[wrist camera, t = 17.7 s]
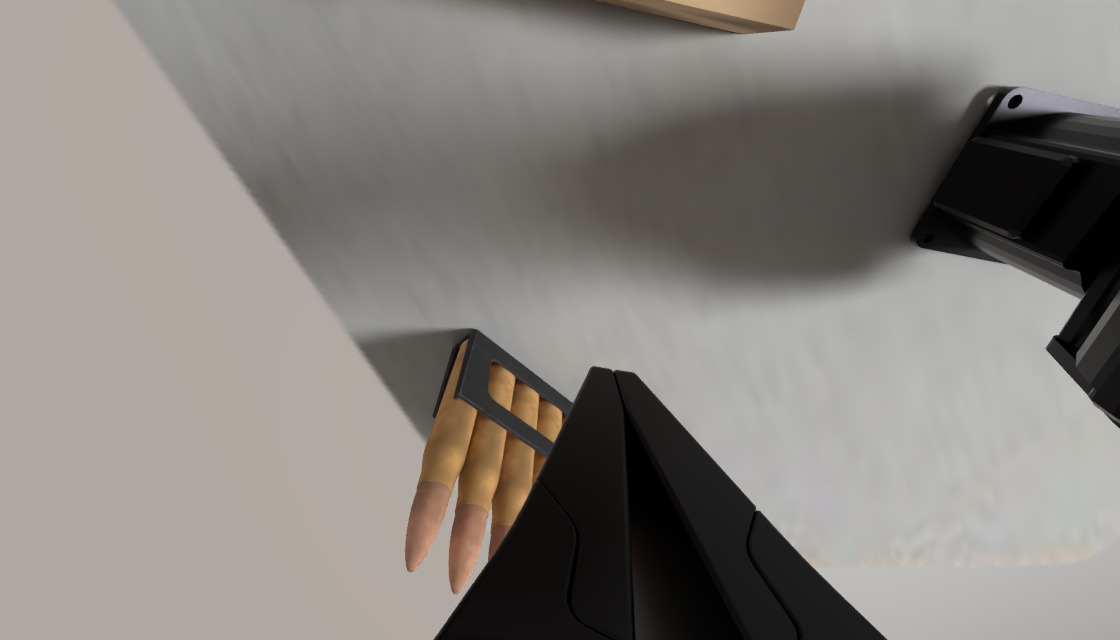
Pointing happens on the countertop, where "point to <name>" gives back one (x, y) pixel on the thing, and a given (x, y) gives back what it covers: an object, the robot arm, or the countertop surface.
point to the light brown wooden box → (724, 13)
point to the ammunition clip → (481, 452)
